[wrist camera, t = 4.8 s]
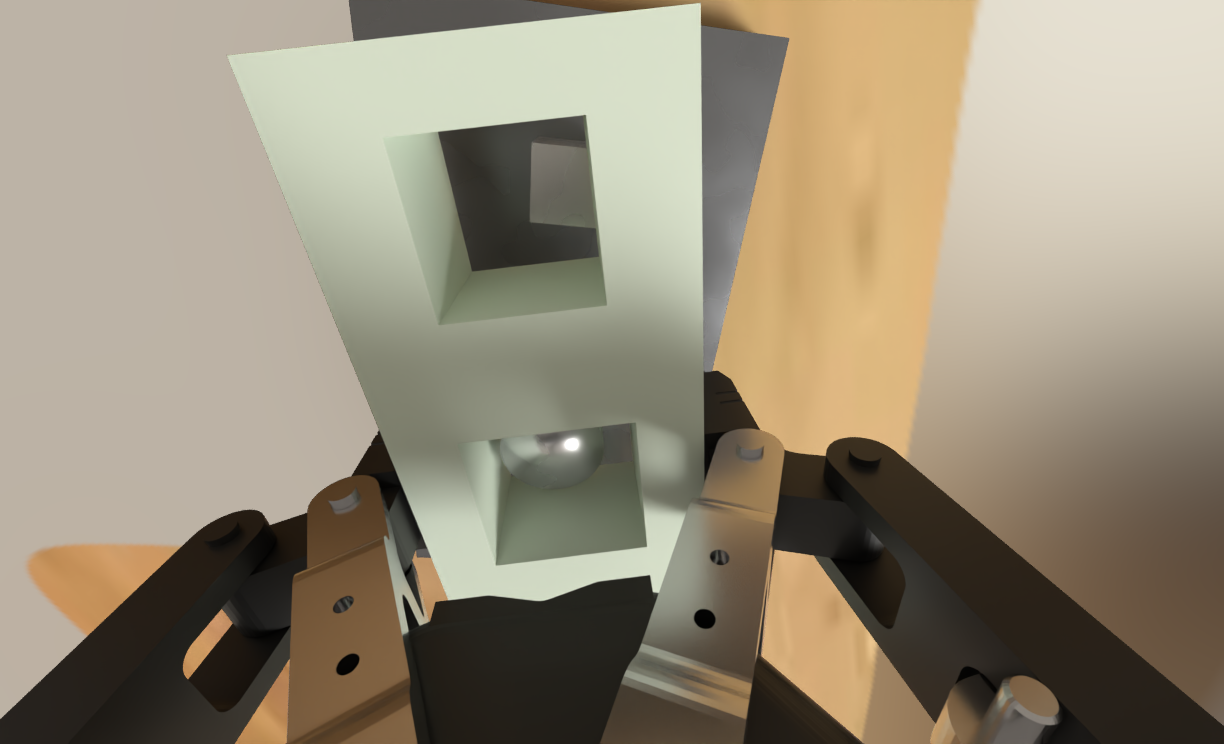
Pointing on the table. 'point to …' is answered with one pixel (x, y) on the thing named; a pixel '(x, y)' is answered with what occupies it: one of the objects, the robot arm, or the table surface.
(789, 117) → the table surface
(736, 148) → the base
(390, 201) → the flange bar
